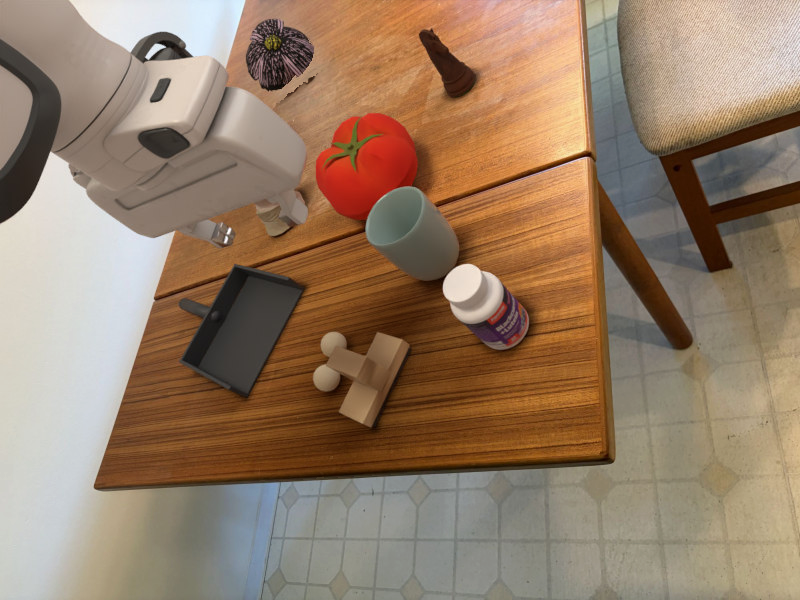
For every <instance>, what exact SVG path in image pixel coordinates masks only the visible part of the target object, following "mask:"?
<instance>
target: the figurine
mask: <svg viewBox="0 0 800 600" xmlns="http://www.w3.org/2000/svg"><path fill="white" fill-rule="evenodd" d="M294 191H295V194H296V198H297V199H298V200H300V201H301V202H302V203H303V204H304V205H305V206H306V201H305V200H304V198H303V196H302V193H301V192H299V191H298V190H294ZM253 204H254V205H255V210H256V212H255V214H256V215H257V217H258V218H259V219H260V222H261V223H262V225H264V227H265V230H266V233H267V235H268V236H269V237H276V236H279V235H282V234H284V232H286V231H287V230H289V229H290V228H291V227H289V226H288V225H287V223H285V222H283V221H282V220H280V219H279V218H278V217H279V214H280V211H281V210H282V209H281V207H280V205H279V203H278V202H277V203H275V204H272V203H271V202H269V201H268V200H267V199H264V200H261V201H258V202H255V203H253Z"/></svg>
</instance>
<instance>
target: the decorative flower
mask: <svg viewBox="0 0 800 600" xmlns="http://www.w3.org/2000/svg"><path fill="white" fill-rule="evenodd" d="M284 22H285V21H284V20H283V19H281V18H268V19H264V20H263V21H261V22H259V23H258V24H257V25H256V26H255V27H254V28H253V29H252V31H251V34H250V37H249V40H250V41H251V42H250V44H248V47H247V49H246V52H245V64H246V67H247V72H248V74H249V76H250V77H251V79H253V81H255V82H256V81H258V82H259V86H260V88H261V90H266V91H267V92H273V91H279V90H280V89H282V88H283V87H284V86H285V85H286V84H288V83H289V82H290V81H291V80H292V78H293V77H294V76H295V75H296V78H298V77H299V76H300V75H301V74H303V72H304V71H305V70H306V68H307V67H308V66H309V64H310V62H311V61H312V58H313V54H314V47H315V45H313V43H312V42H311V43H312V44H311V43H309V40H310V39H309V37H308V36H307V35H306V34H305V33H303V32H302V31H300V30H298V28H297V29H296V28H294V27H290V26H285V23H284ZM308 39H309V40H308Z"/></svg>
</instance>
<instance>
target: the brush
mask: <svg viewBox="0 0 800 600" xmlns="http://www.w3.org/2000/svg"><path fill="white" fill-rule="evenodd" d="M410 346H411V344H409V343H408V342H406V341H405V340H404V339H402V338H399V337H395V336H394V335H393V336H392V335H388V334H385V333H383V332H379V331H377V332H376V334H375V336H374V338H373V340H372V342H371V344H370V346H369V348H368V350H367V352H366V354H365V355H363V354H361V353H358V352H354V351H352V350H349V349H347V348H346V349H344V348H341V347H338V346H335V348H334V350H333V352H332V354H331V356H330V357H328V359H327V362H326V363H325V364H326V366H327V367H329V368H331V369H333V370H334V371H336V372H338V373H340V376H343V377H345V378H347V379H349V380H351V381H352V383H351V386H350V388H349V390H348V391H347V394H346V395H345V397H344V400H343V401H342V404H341V406H340V408H339V410H338V413H339V414H341V415H343V416H346V417H347V418H349V419H352V420H354V421H355V422H358V423H360V424H362V425H363V426H366V427H369V428H376V426H377V425H378V422H379V420H380V418H381V417H382V413H383V411H384V410H385V407H386V405H387V404H388V401H389V399H390V396H391V395H392V393H393V390H394V388H395V386H396V384H397V382H398V380H399V378H400V376H401V373H402V371H403V369H404V367H405V365H406V362H407V360H408V358H409V356H410V354H411V352H412V348H411V347H410Z"/></svg>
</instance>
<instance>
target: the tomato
mask: <svg viewBox="0 0 800 600" xmlns="http://www.w3.org/2000/svg"><path fill="white" fill-rule="evenodd" d="M416 151H417V150H416V145H415V141H414V140H413V138H412V136H411V135H410V133H409V131H408V130H407V128H406V127H405V126H404V125H403V124H401V123H400V122H399V121H398V120H396V119H395V118H393V117H391V116H390V115H387V114H384V113H382V112H368V113H367V114H365V115H364V116H362V115H361V116H360V115H358V116H351V117H349V118H347V119H345V120H344V121H341V123H340V125H339V126H338V127H337V128H336V130H334V133H333V136H332V140H331V143H330V147H328V148H326V149H324V150H323V151H320V153H319V154H318V156H317V158H316V159H315V181H316V184H317V188H318V189H319V191H320V192H321V193H322V195H323V196H324V197H325V198H326V200H327V201H328V203H329V204H330V206H332V208H333V209H334V211H335V212H336V213H337V214H339V215H341V216H343V217H345V218H349V219H352V220H354V221H355V220H357V221H359V220H360V221H363V220H364V221H365V220H367V219H368V216H369V213H370V211H371V210H372V208H373V206H374V205H375V204H376V203H377V201H378V200H379V199H380V198H381V197H383V196H384V195H385V194H387V193H389V192H390V191H392V190H395V189H397V188H401V187H408V186H411V187H413V186H412V185H413V184H414V181H415V179H416V176H417V173H418V167H419V163H418V162H419V161H418V156H417V154H416Z"/></svg>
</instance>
